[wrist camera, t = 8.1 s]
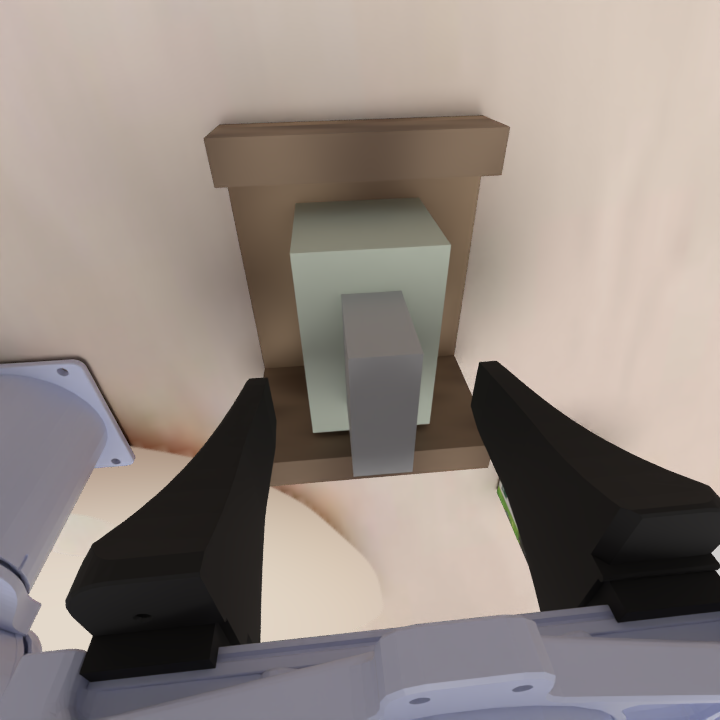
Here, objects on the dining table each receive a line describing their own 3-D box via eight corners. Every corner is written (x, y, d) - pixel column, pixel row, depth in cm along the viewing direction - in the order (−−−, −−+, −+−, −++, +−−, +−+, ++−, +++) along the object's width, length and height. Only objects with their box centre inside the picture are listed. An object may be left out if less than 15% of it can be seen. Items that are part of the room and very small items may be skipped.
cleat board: (270, 380, 23) (256, 487, 17) (219, 124, 15) (165, 170, 10) (447, 368, 24) (487, 467, 18) (482, 115, 16) (572, 153, 10)
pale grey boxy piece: (313, 360, 21) (312, 506, 15) (295, 203, 16) (282, 312, 10) (408, 354, 22) (450, 493, 15) (418, 197, 17) (488, 300, 10)
